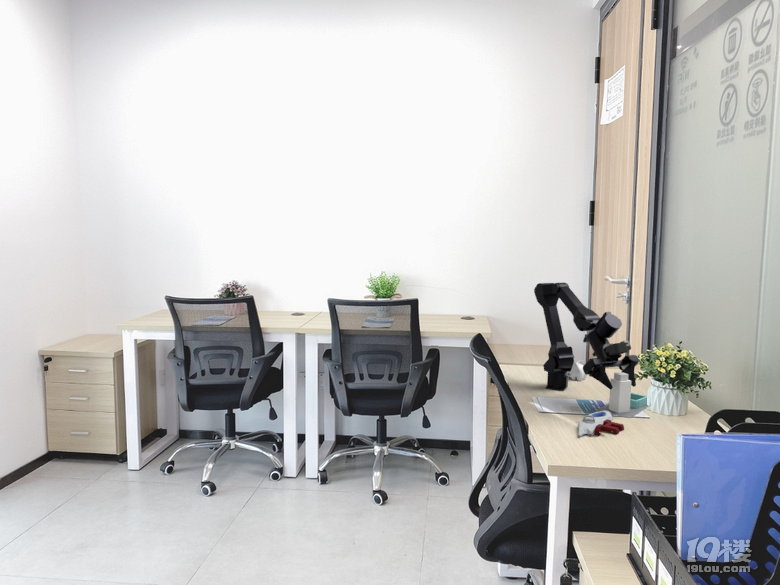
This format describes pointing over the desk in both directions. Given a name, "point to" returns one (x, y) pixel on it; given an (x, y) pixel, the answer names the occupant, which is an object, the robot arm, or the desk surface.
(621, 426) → the bracket
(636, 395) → the holder
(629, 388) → the grey square bottle
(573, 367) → the elephant figurine
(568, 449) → the desk surface
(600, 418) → the spaceship
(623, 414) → the mat
